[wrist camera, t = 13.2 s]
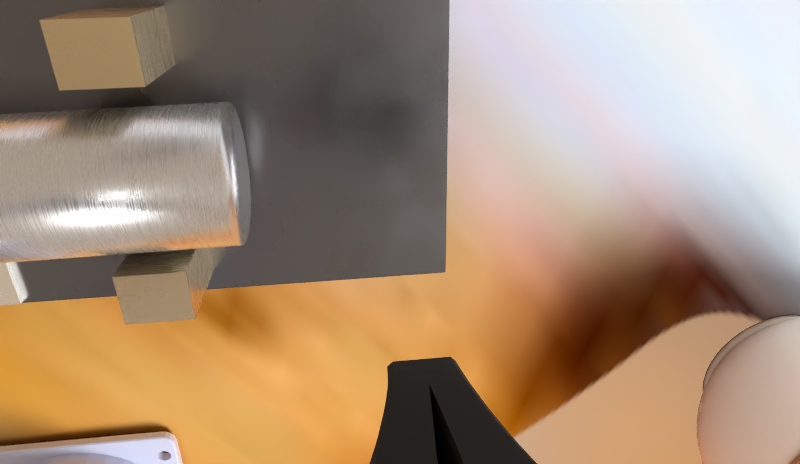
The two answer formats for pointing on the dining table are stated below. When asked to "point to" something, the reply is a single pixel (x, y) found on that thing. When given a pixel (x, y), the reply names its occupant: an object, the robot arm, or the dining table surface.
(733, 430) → the lidded jar
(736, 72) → the dining table surface
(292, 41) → the plate
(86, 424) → the dining table surface
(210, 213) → the tube
